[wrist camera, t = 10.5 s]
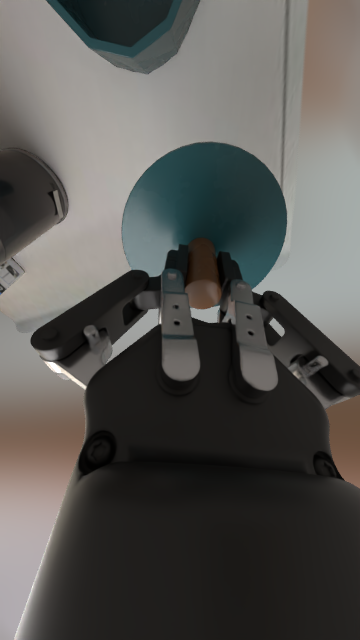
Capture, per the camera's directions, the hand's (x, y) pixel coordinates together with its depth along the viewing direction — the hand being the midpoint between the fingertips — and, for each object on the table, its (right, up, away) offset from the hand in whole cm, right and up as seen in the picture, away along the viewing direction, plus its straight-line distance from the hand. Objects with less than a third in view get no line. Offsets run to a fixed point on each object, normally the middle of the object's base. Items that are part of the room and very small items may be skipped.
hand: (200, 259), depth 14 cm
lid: (0, +1, +1) cm, 2 cm away
